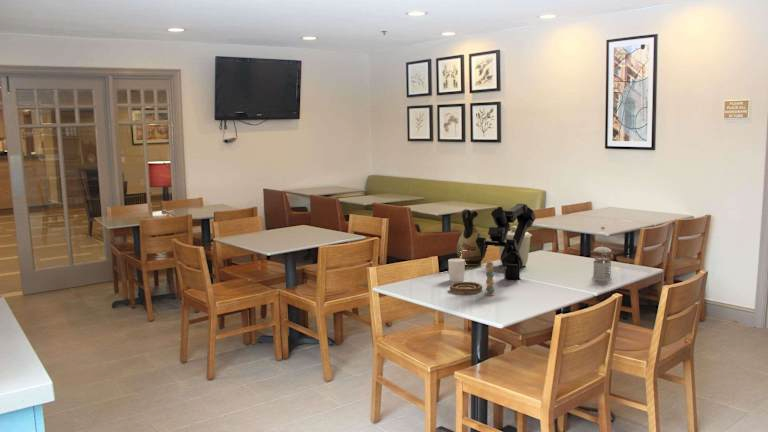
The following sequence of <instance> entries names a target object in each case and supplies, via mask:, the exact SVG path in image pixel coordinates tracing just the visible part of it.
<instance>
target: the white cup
mask: <svg viewBox="0 0 768 432" xmlns="http://www.w3.org/2000/svg"><path fill="white" fill-rule="evenodd" d="M447 260H448V261H447V263H448V274H449V281H450V282H452V283H457V282H465V269H466V268H465V267H466V265H465V260H464V259H460V258H459V257H458V258H450V259H447Z"/></svg>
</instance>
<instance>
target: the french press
mask: <svg viewBox="0 0 768 432" xmlns="http://www.w3.org/2000/svg"><path fill="white" fill-rule="evenodd" d="M600 229H601V230H606V227H605V226H601V227H600ZM601 239H602V240H601V246H599V247H596V248H594V249H593V251H594V253H601V256H596V257H594V261H593V267H592V268H593V273H592V274H593V276H591V280H593V281H600V282H607V281H608V282H609V281H612V280H614V279H613V277H611V274H612V273H611V272H612V269H611V268H612V261H610V260H611V258H610V257H608V254H607V253H611V252H612V249H611V248H609V247H605V246H603V245H604V244H603V243H604V235H602V238H601Z"/></svg>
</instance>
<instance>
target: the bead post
mask: <svg viewBox="0 0 768 432" xmlns="http://www.w3.org/2000/svg"><path fill="white" fill-rule="evenodd" d="M485 268H486V273H485V275H486V276H485V277H486V280H485V283H486V287H485V291H486V292H485V293H484V294H485V296H488V297H493V296H495V292H494V291H495V290H494V289H495V288H494V283H495V280H494V279H493V277H494V275H495V273H494V268H495V266H494V263H493V262H489V261H487V262H486V265H485Z"/></svg>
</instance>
